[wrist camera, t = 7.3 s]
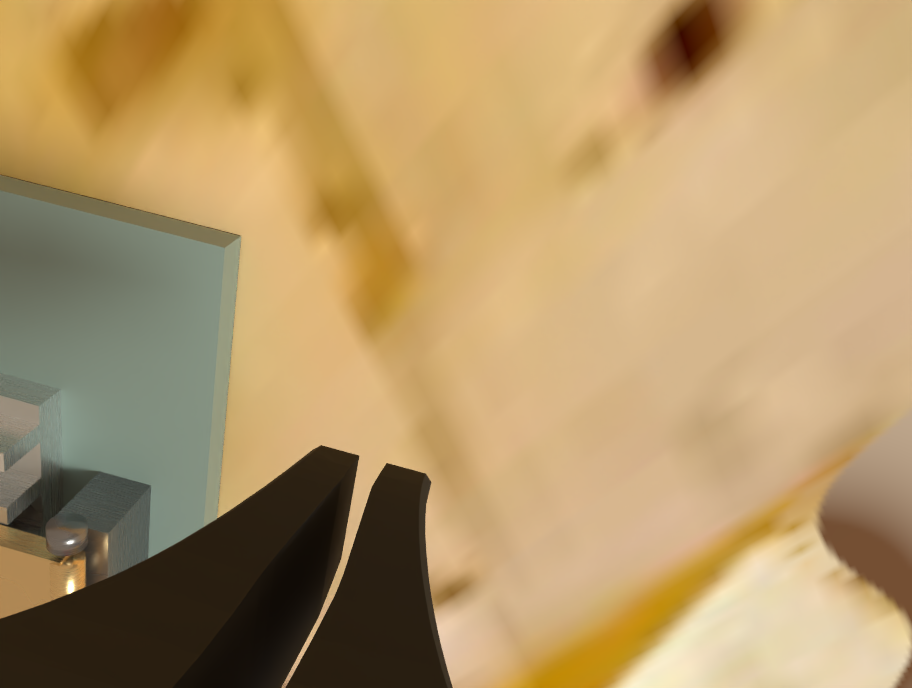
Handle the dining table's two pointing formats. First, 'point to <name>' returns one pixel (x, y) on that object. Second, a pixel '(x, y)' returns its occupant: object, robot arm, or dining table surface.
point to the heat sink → (41, 488)
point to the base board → (123, 342)
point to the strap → (34, 572)
